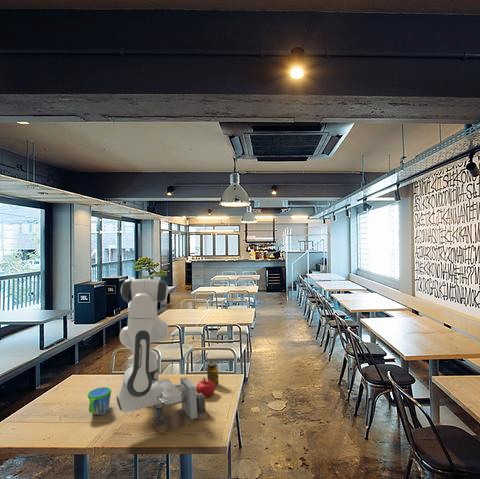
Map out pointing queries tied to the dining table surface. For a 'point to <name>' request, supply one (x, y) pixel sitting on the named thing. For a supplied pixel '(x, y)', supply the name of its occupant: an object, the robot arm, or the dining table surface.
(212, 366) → the condiment
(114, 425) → the dining table surface
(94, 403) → the snack cup
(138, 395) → the robot arm
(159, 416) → the pipe rig
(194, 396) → the grey slab
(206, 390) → the pomegranate
